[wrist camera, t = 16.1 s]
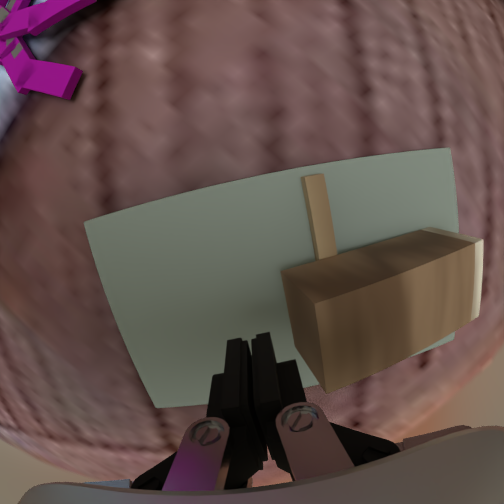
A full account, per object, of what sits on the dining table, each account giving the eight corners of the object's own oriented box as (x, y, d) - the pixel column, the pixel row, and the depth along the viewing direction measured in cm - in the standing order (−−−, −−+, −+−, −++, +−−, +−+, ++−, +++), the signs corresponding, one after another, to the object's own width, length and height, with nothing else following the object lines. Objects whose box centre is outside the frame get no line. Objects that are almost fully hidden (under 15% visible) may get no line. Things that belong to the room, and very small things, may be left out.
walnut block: (326, 393, 12) (478, 315, 13) (314, 303, 11) (483, 239, 12) (294, 346, 16) (431, 292, 17) (280, 271, 15) (429, 226, 16)
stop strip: (330, 375, 19) (334, 386, 18) (300, 177, 16) (304, 177, 14) (344, 372, 19) (349, 382, 18) (318, 173, 16) (323, 173, 14)
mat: (157, 403, 20) (155, 408, 19) (88, 220, 17) (83, 222, 16) (450, 335, 19) (453, 339, 19) (444, 147, 16) (449, 147, 15)
